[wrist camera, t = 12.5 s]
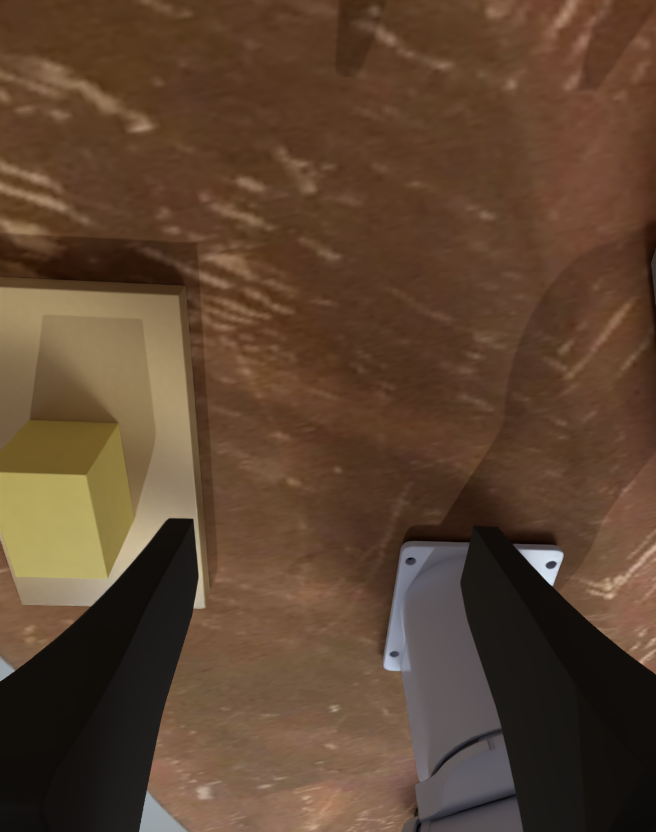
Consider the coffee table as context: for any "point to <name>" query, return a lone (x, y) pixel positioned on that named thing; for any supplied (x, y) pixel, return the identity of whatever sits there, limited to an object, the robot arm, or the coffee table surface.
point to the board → (107, 401)
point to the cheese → (64, 499)
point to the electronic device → (654, 273)
